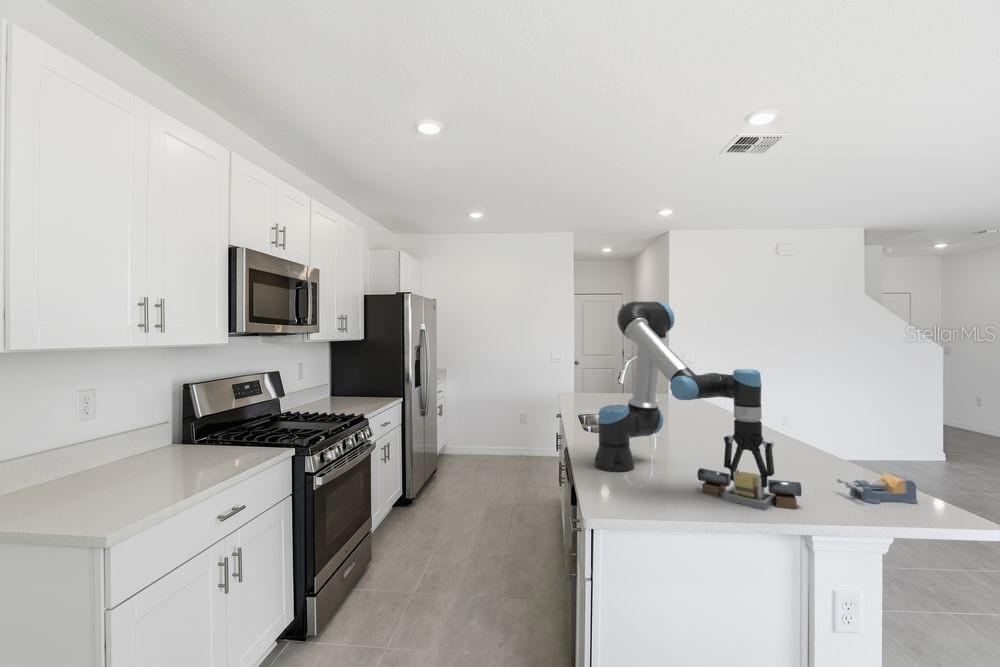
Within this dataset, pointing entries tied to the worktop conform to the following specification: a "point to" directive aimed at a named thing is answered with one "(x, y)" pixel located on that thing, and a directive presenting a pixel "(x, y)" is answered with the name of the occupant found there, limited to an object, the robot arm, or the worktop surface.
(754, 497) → the gold rectangular block
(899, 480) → the vise
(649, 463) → the worktop surface
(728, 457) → the robot arm
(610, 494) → the worktop surface
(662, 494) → the worktop surface
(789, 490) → the shaft
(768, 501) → the cradle
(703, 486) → the shaft
